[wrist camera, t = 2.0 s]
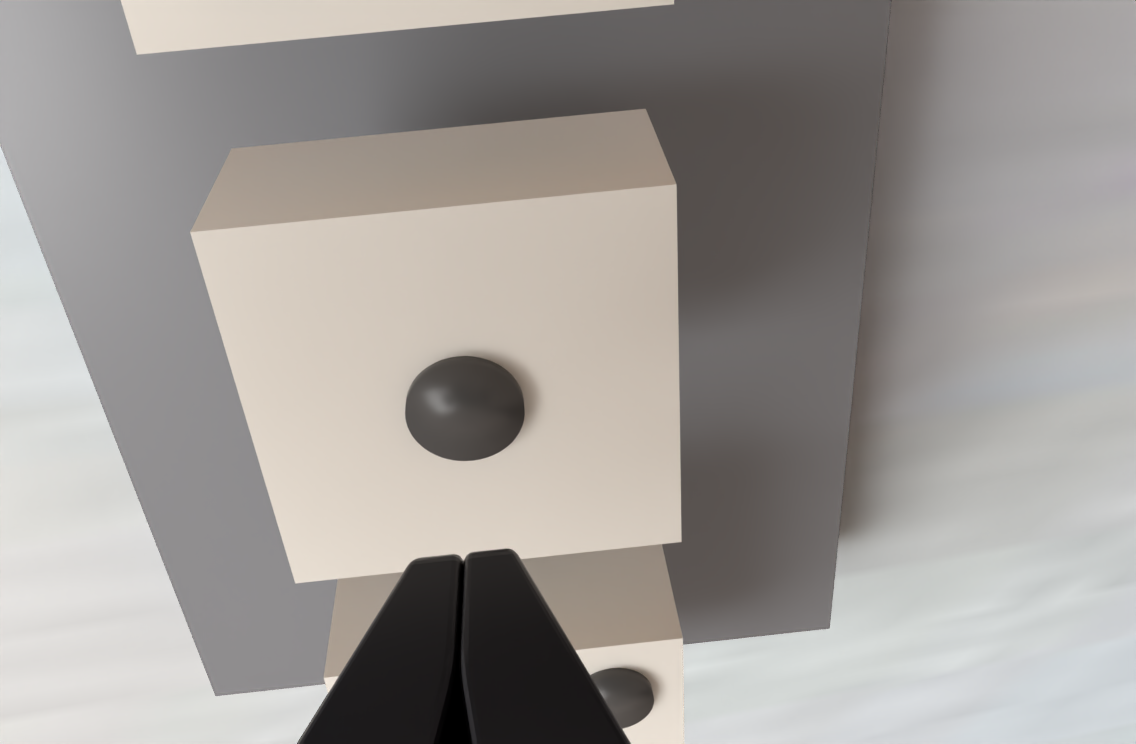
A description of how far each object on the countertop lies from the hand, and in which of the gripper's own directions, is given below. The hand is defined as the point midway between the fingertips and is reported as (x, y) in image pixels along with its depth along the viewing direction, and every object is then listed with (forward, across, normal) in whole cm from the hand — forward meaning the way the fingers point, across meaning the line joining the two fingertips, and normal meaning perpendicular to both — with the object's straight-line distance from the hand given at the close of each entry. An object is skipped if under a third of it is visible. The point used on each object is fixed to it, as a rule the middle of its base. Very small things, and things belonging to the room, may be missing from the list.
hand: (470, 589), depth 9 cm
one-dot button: (+5, 0, 0) cm, 5 cm away
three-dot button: (+5, 0, +6) cm, 7 cm away
